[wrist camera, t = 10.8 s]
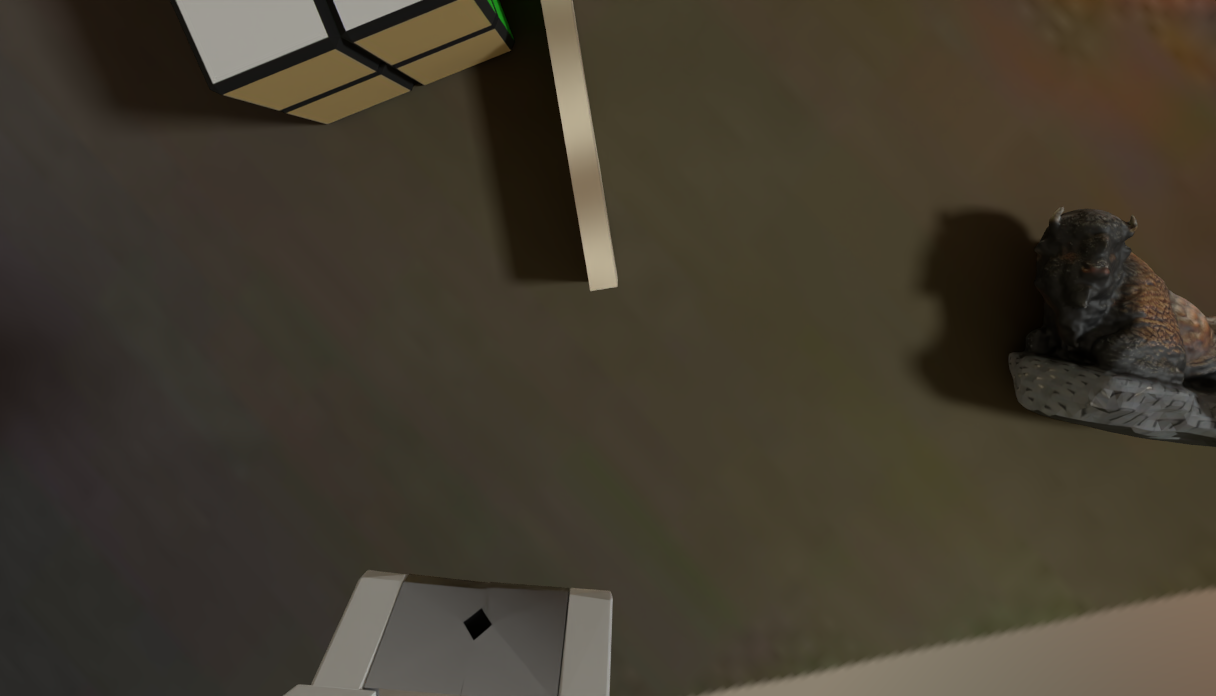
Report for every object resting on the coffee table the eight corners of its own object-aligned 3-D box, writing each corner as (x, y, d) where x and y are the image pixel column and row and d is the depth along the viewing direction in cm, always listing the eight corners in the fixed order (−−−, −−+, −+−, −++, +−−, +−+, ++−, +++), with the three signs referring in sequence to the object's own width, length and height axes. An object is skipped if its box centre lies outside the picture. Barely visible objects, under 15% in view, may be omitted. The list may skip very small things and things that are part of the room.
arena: (617, 277, 36) (617, 286, 32) (269, 335, 37) (228, 350, 33) (535, -226, 32) (523, -286, 28) (146, -149, 33) (81, -197, 29)
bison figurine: (1206, 424, 38) (1265, 225, 35) (1334, 481, 31) (1418, 238, 28) (969, 402, 38) (1012, 202, 35) (1044, 454, 31) (1104, 210, 28)
